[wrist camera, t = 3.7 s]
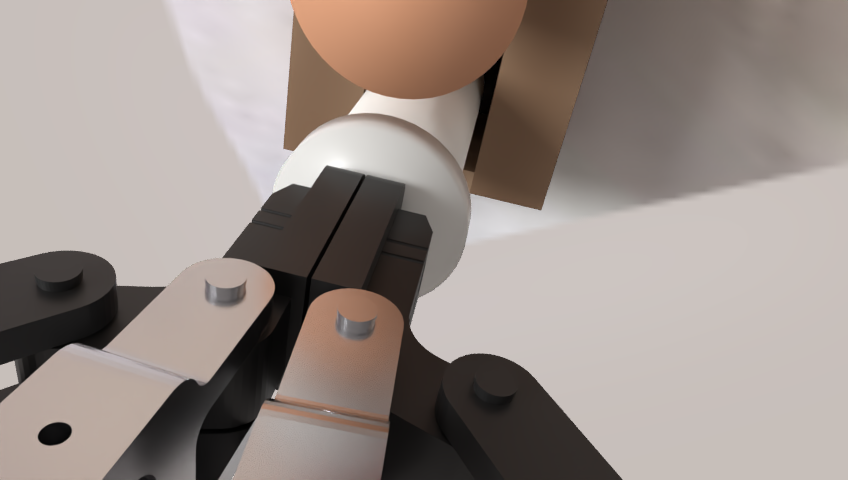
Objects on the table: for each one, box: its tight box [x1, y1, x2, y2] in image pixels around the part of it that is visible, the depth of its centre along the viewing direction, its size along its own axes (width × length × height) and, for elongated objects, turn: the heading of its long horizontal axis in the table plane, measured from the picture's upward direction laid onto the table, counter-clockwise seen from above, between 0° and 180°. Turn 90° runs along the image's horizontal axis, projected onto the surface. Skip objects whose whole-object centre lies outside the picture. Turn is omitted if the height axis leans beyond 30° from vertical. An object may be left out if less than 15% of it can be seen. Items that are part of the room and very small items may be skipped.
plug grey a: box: [272, 74, 484, 298], centre depth 16 cm, size 4×4×9 cm
